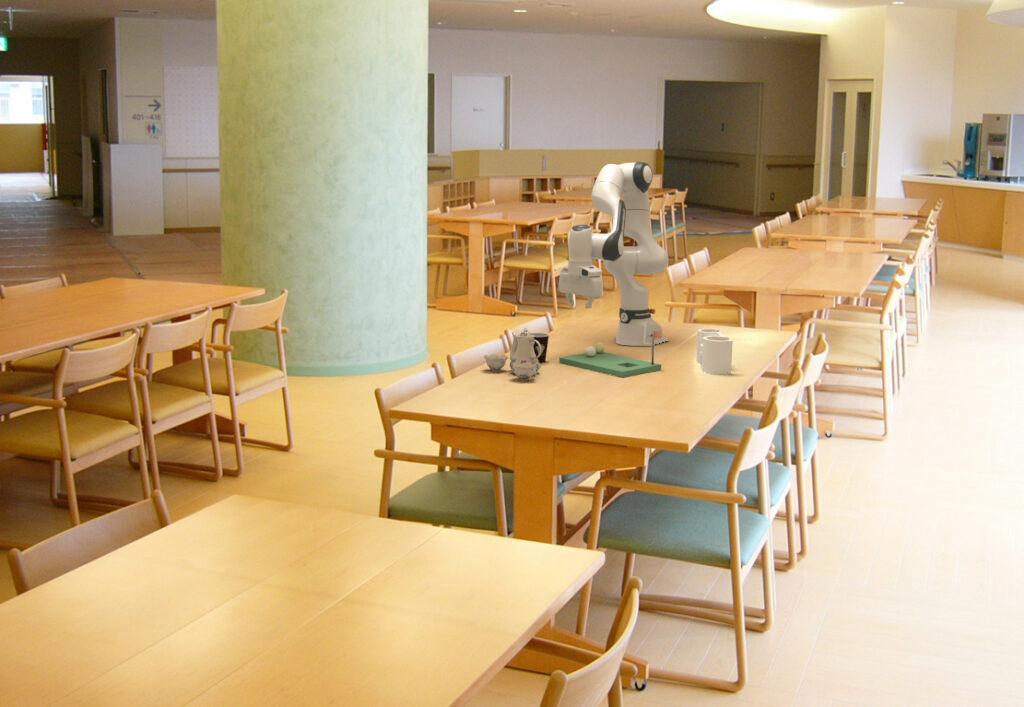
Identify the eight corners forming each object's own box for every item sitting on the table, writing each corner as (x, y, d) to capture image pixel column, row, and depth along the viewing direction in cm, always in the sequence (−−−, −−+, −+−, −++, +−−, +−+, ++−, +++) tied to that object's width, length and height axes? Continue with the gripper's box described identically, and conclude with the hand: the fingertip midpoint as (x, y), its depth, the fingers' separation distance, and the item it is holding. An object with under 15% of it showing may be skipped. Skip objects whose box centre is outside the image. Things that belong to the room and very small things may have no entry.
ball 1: (590, 355, 412) (590, 344, 411) (598, 356, 409) (598, 346, 408) (582, 356, 410) (582, 345, 409) (590, 358, 407) (590, 347, 406)
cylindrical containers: (692, 360, 415) (694, 328, 412) (718, 360, 415) (720, 328, 412) (704, 374, 390) (705, 340, 388) (732, 374, 390) (733, 341, 388)
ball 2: (599, 351, 419) (599, 341, 418) (606, 353, 416) (606, 342, 415) (591, 352, 417) (591, 342, 416) (599, 354, 414) (599, 343, 413)
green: (598, 356, 421) (598, 350, 420) (661, 369, 397) (661, 364, 396) (559, 362, 408) (559, 357, 407) (622, 377, 384) (622, 371, 384)
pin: (659, 362, 399) (660, 329, 397) (661, 363, 399) (662, 330, 396) (650, 364, 396) (651, 331, 394) (652, 364, 396) (653, 331, 393)
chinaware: (475, 374, 395) (472, 329, 390) (511, 364, 405) (508, 320, 400) (527, 389, 374) (523, 341, 369) (563, 377, 384) (560, 330, 379)
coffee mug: (549, 359, 414) (549, 333, 412) (547, 364, 405) (548, 337, 403) (518, 358, 415) (518, 332, 413) (515, 363, 406) (516, 336, 404)
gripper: (554, 267, 414) (554, 304, 416) (593, 272, 398) (592, 310, 401) (567, 266, 418) (566, 303, 420) (605, 271, 402) (604, 309, 405)
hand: (579, 306), depth 410 cm, fingers open, 8 cm apart
